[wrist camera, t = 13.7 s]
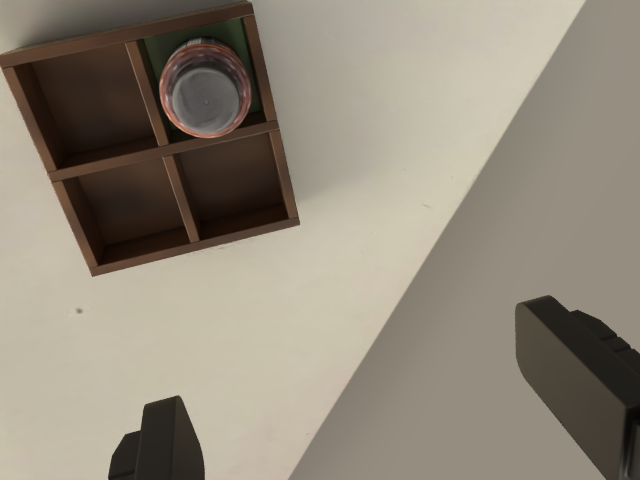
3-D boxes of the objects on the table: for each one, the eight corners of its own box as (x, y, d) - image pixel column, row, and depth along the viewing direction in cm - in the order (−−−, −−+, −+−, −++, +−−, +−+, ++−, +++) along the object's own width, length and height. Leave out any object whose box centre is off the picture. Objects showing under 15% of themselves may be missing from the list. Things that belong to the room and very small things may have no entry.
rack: (16, 48, 40) (-5, 56, 36) (246, 0, 42) (251, 2, 38) (101, 251, 48) (92, 277, 44) (292, 204, 50) (300, 225, 46)
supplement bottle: (259, 80, 44) (276, 110, 34) (203, 127, 44) (203, 170, 34) (208, 17, 41) (210, 28, 31) (149, 68, 42) (133, 96, 32)
